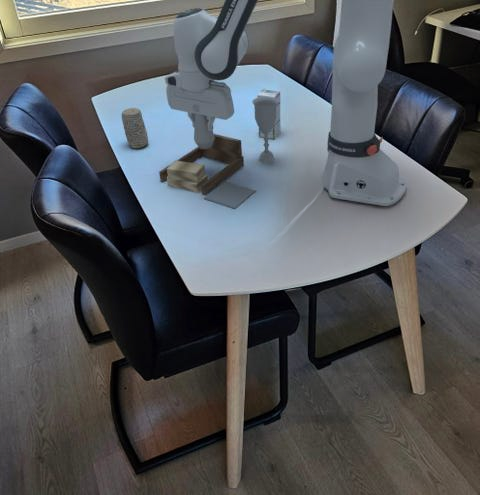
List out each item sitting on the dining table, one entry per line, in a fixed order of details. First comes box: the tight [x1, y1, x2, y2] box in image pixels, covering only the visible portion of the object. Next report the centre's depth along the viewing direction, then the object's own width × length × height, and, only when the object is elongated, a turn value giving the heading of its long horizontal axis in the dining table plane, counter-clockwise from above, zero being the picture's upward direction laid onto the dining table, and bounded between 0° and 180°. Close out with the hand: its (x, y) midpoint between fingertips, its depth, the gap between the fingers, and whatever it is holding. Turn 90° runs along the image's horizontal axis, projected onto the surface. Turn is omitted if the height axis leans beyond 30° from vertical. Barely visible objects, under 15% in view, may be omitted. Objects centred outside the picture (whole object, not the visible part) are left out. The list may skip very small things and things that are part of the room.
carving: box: [121, 107, 149, 149], centre depth 154 cm, size 6×8×12 cm
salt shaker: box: [193, 104, 215, 149], centre depth 133 cm, size 6×6×13 cm
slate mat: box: [203, 181, 257, 210], centre depth 130 cm, size 10×10×1 cm
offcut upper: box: [167, 160, 206, 183], centre depth 133 cm, size 9×5×3 cm, turn 69°
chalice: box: [251, 97, 278, 165], centre depth 139 cm, size 7×7×18 cm
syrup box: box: [256, 88, 282, 140], centre depth 154 cm, size 6×6×14 cm
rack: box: [158, 133, 245, 196], centre depth 138 cm, size 16×19×8 cm
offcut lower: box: [166, 174, 209, 194], centre depth 135 cm, size 10×6×3 cm, turn 60°
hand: (203, 128), depth 133 cm, fingers closed on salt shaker, 3 cm apart
